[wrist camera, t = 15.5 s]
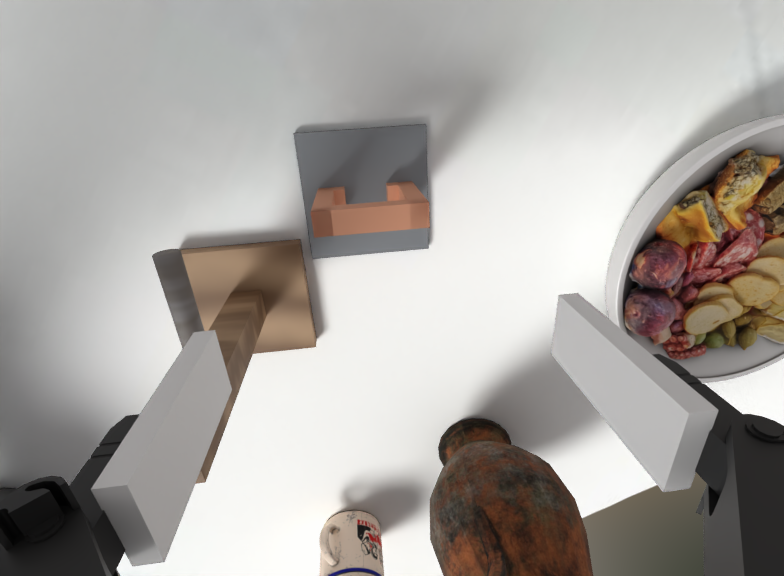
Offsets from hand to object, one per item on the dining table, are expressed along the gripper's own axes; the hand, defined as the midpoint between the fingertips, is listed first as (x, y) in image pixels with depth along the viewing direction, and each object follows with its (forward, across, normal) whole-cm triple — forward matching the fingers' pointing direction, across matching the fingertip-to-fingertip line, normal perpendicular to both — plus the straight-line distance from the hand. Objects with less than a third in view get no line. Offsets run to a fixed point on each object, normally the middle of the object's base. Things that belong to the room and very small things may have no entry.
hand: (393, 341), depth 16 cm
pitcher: (+27, -11, +34) cm, 45 cm away
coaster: (+27, 0, 0) cm, 27 cm away
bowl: (+27, -40, +10) cm, 49 cm away
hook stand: (+27, +13, +8) cm, 31 cm away
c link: (+26, 0, 0) cm, 26 cm away
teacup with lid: (+27, +7, +48) cm, 55 cm away
